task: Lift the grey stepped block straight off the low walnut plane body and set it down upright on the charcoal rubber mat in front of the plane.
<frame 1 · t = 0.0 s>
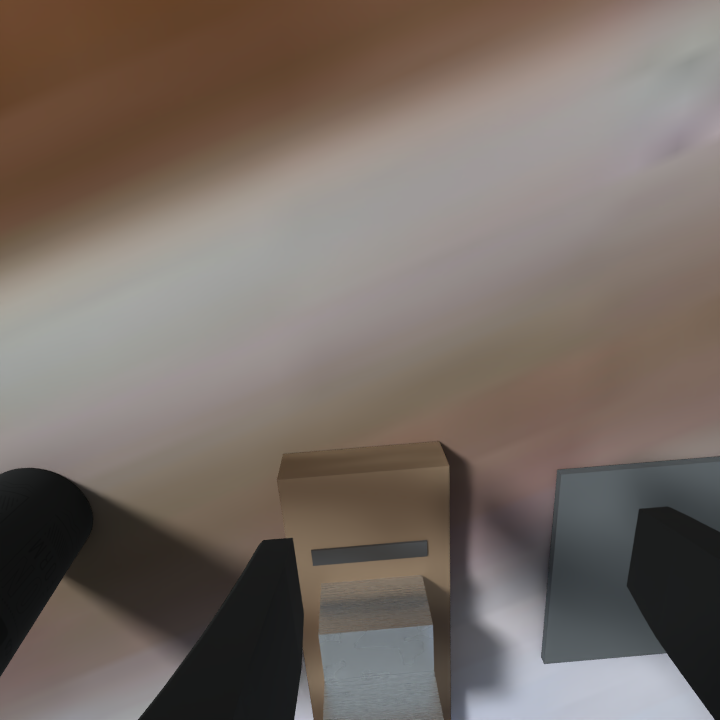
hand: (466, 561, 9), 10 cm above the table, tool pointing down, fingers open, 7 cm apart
drinking cup: (41, 509, 20), on the table
grey stepped block: (376, 637, 21), point 2 cm above the table, touching plane body
plane body: (373, 601, 23), on the table
mat: (645, 563, 22), on the table
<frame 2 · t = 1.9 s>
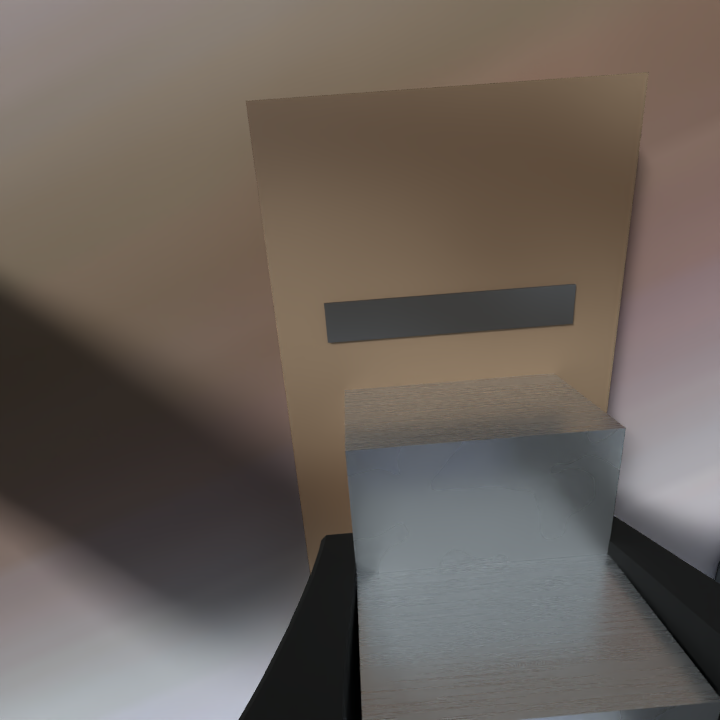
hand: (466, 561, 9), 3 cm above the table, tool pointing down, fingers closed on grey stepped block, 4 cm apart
grey stepped block: (450, 517, 10), point 2 cm above the table, touching gripper, plane body
plane body: (433, 470, 12), on the table
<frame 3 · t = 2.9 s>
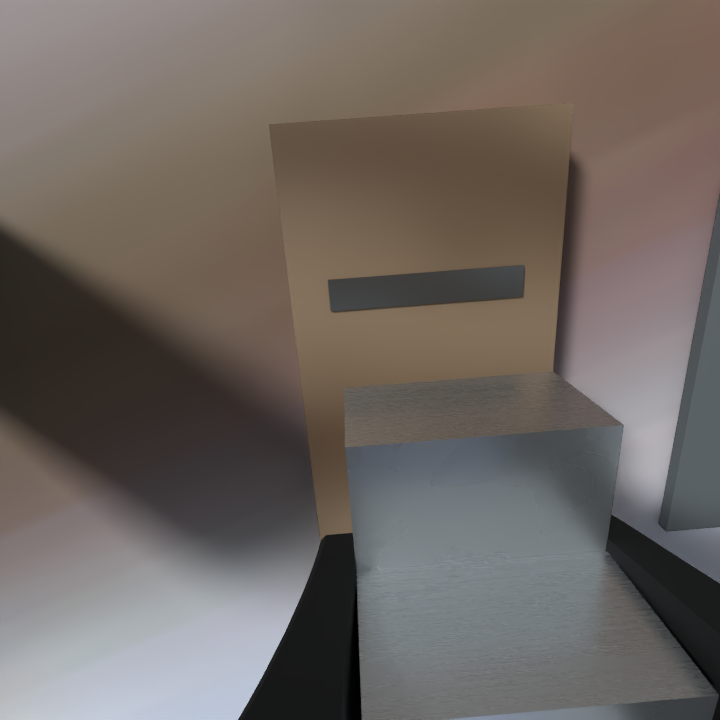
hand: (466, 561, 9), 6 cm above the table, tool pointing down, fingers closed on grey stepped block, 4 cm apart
grey stepped block: (449, 514, 11), point 5 cm above the table, touching gripper
plane body: (418, 425, 15), on the table
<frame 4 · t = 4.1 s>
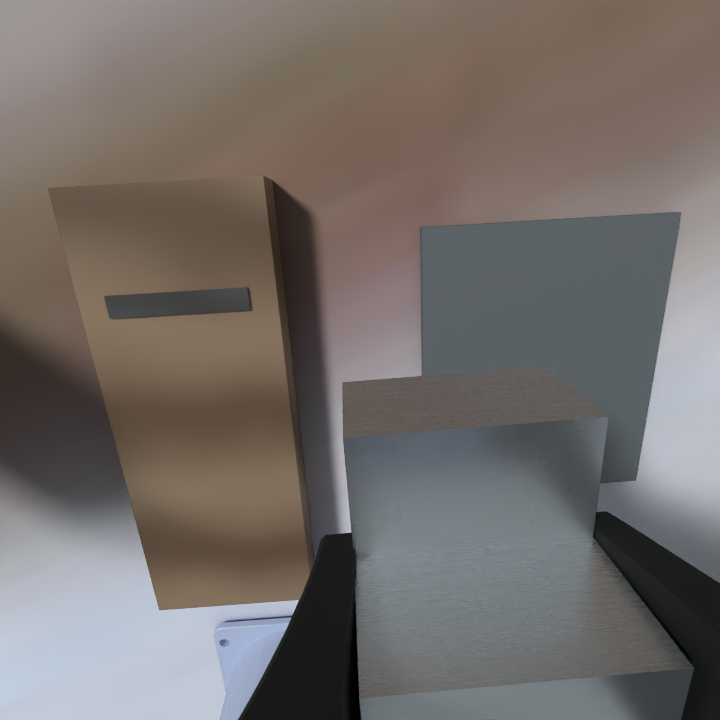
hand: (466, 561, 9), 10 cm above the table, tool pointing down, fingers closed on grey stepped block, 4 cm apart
grey stepped block: (444, 505, 11), point 9 cm above the table, touching gripper
plane body: (216, 407, 19), on the table
mat: (536, 364, 19), on the table
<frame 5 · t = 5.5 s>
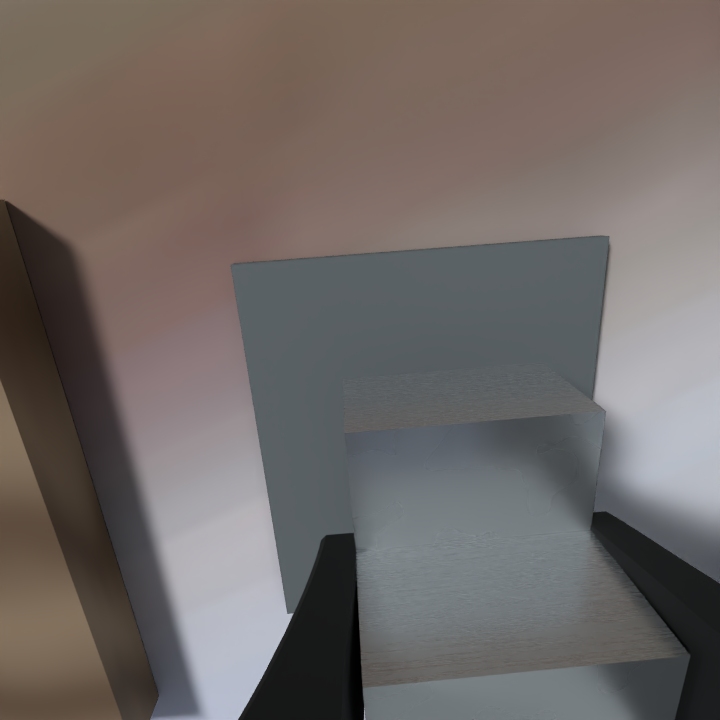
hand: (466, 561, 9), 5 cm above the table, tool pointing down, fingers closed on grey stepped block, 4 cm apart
grey stepped block: (444, 501, 11), point 3 cm above the table, touching gripper
mat: (423, 444, 14), on the table
when the fingers open (3 cm above the table, at t = 6.4 s): grey stepped block stays where it is, resting on mat.
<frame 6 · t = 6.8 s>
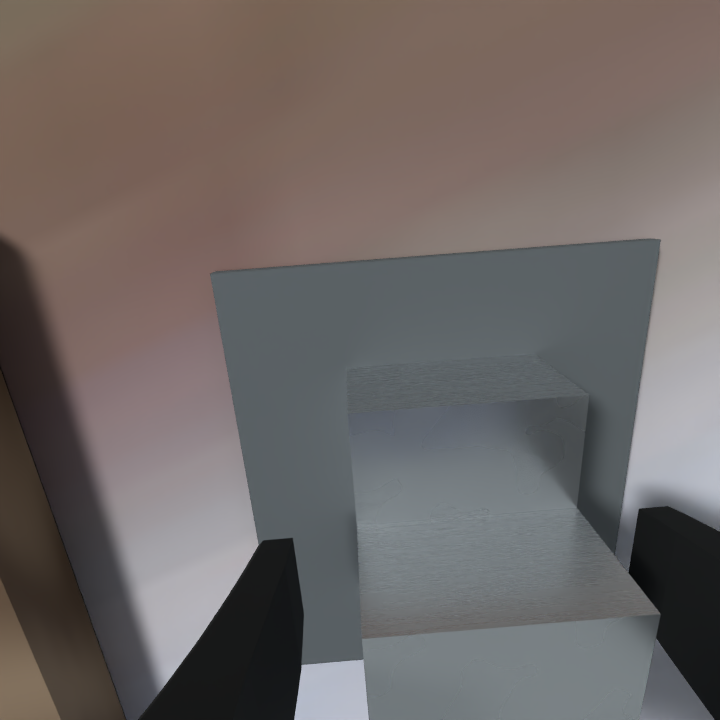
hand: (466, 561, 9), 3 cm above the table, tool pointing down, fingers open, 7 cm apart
grey stepped block: (441, 485, 12), resting on mat
mat: (436, 478, 12), on the table
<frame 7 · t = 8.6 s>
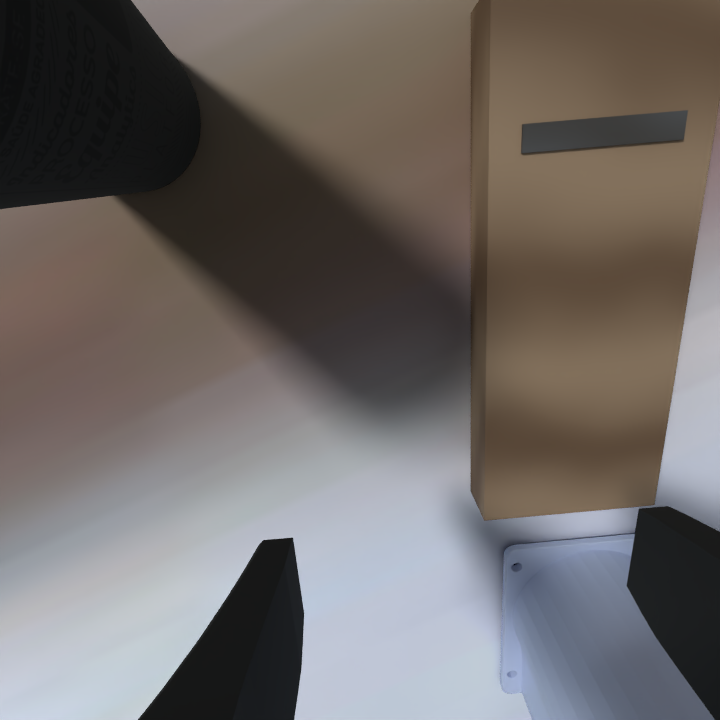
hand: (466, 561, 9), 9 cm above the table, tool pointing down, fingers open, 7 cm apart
drinking cup: (129, 114, 15), on the table
plane body: (561, 285, 17), on the table
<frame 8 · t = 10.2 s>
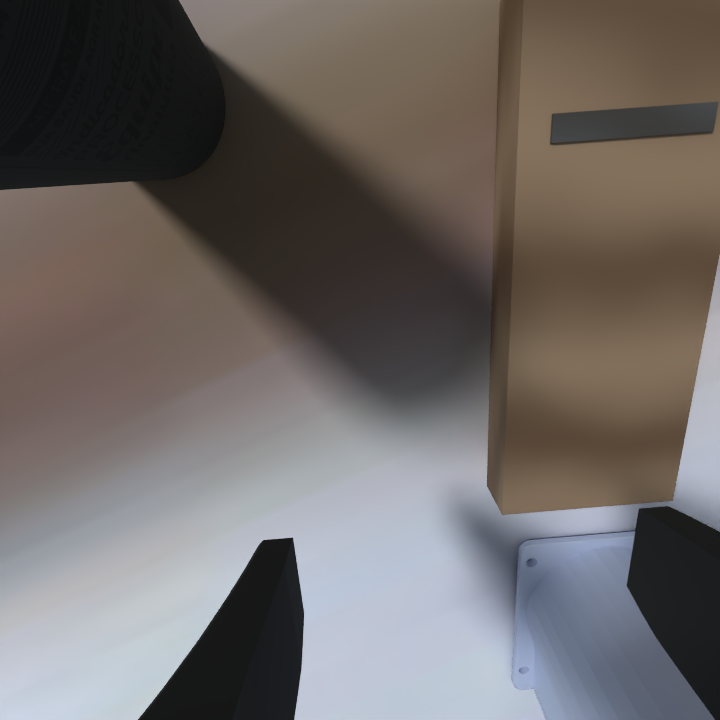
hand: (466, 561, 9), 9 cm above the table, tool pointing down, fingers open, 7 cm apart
drinking cup: (152, 100, 15), on the table
plane body: (582, 278, 17), on the table
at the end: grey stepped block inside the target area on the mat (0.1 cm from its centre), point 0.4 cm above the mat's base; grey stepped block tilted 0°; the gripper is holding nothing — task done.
